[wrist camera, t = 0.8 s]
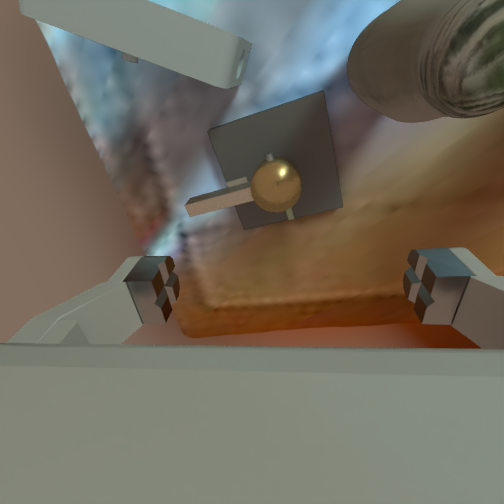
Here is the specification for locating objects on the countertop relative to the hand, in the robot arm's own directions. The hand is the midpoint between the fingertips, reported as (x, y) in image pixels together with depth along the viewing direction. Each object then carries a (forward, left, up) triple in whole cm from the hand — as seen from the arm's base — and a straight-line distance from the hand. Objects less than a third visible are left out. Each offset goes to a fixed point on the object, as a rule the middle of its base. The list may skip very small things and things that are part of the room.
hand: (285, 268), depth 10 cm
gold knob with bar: (+9, +7, -34) cm, 36 cm away
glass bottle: (-13, -3, -40) cm, 42 cm away
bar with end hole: (+14, -15, -41) cm, 45 cm away
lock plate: (+4, +7, -40) cm, 41 cm away
